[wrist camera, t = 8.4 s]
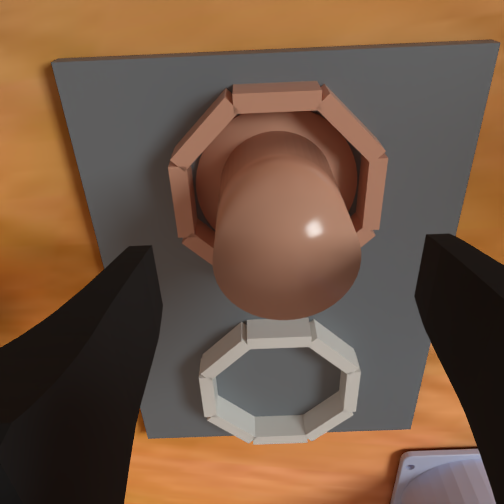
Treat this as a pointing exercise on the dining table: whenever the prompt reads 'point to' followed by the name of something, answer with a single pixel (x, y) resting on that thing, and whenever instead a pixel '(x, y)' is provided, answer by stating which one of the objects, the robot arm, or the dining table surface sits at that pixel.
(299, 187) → the beige rounded cylinder
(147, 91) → the grey board with rings
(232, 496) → the dining table surface
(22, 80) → the dining table surface
